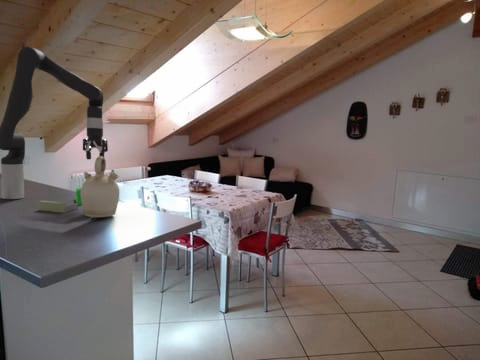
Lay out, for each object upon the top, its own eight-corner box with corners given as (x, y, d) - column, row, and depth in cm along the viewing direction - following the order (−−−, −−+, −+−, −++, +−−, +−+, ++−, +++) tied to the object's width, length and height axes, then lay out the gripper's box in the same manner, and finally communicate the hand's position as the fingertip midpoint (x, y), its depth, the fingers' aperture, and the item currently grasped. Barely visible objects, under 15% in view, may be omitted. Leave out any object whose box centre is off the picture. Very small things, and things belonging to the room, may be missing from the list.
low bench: (39, 210, 153) (38, 201, 152) (55, 206, 161) (55, 198, 161) (63, 212, 149) (63, 203, 149) (78, 209, 158) (78, 200, 157)
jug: (126, 212, 154) (126, 156, 151) (104, 219, 139) (103, 157, 136) (97, 209, 158) (96, 154, 155) (72, 216, 143) (71, 155, 140)
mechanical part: (91, 204, 170) (91, 188, 169) (77, 205, 167) (77, 189, 166) (87, 200, 180) (87, 185, 180) (74, 201, 177) (74, 185, 176)
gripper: (78, 126, 172) (78, 159, 174) (99, 127, 167) (100, 160, 169) (90, 127, 179) (90, 158, 181) (111, 128, 174) (111, 160, 175)
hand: (95, 159), depth 175 cm, fingers open, 8 cm apart
